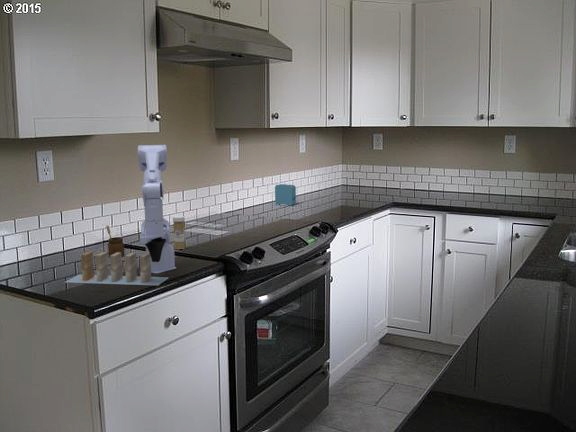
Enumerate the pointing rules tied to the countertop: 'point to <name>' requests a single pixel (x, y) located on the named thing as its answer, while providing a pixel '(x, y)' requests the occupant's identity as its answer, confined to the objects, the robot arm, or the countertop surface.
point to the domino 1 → (87, 266)
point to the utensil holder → (115, 244)
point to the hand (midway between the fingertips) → (156, 261)
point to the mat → (122, 281)
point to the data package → (285, 194)
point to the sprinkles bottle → (179, 232)
